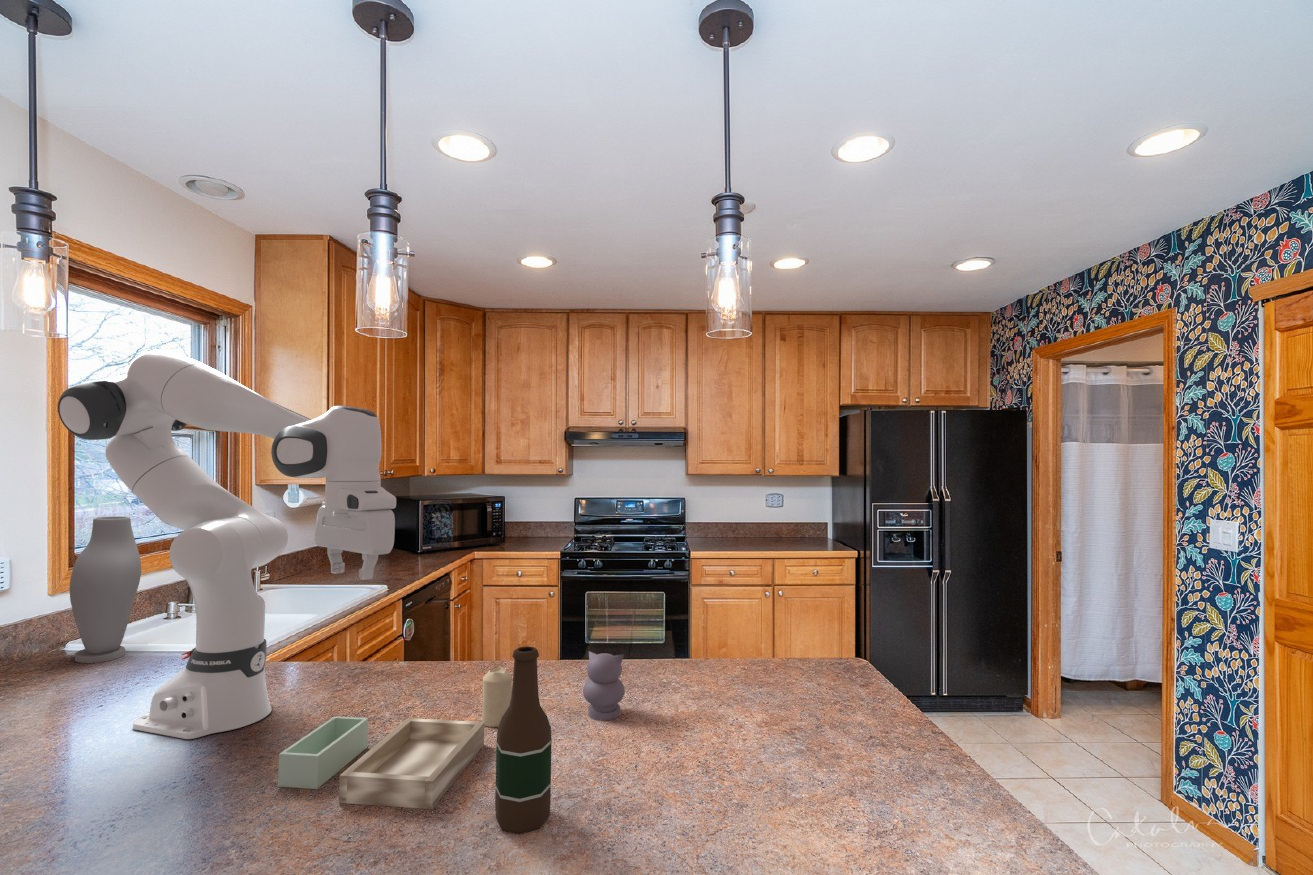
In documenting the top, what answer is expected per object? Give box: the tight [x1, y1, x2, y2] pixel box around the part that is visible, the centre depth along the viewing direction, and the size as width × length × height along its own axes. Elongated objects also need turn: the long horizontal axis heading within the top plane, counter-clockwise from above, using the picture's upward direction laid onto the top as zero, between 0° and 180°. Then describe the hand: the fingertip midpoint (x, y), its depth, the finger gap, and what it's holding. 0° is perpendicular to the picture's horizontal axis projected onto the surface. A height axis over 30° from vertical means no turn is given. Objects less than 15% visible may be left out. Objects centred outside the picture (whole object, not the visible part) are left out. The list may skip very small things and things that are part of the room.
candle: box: [481, 667, 513, 728], centre depth 121 cm, size 6×6×10 cm
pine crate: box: [338, 717, 485, 810], centre depth 101 cm, size 14×20×4 cm
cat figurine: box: [582, 650, 626, 722], centre depth 125 cm, size 8×8×12 cm
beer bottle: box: [494, 645, 552, 835], centre depth 89 cm, size 8×8×24 cm
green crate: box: [277, 715, 369, 790], centre depth 103 cm, size 6×14×5 cm, turn 175°
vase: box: [68, 515, 142, 664], centre depth 156 cm, size 13×13×35 cm
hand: (351, 576), depth 109 cm, fingers open, 8 cm apart
